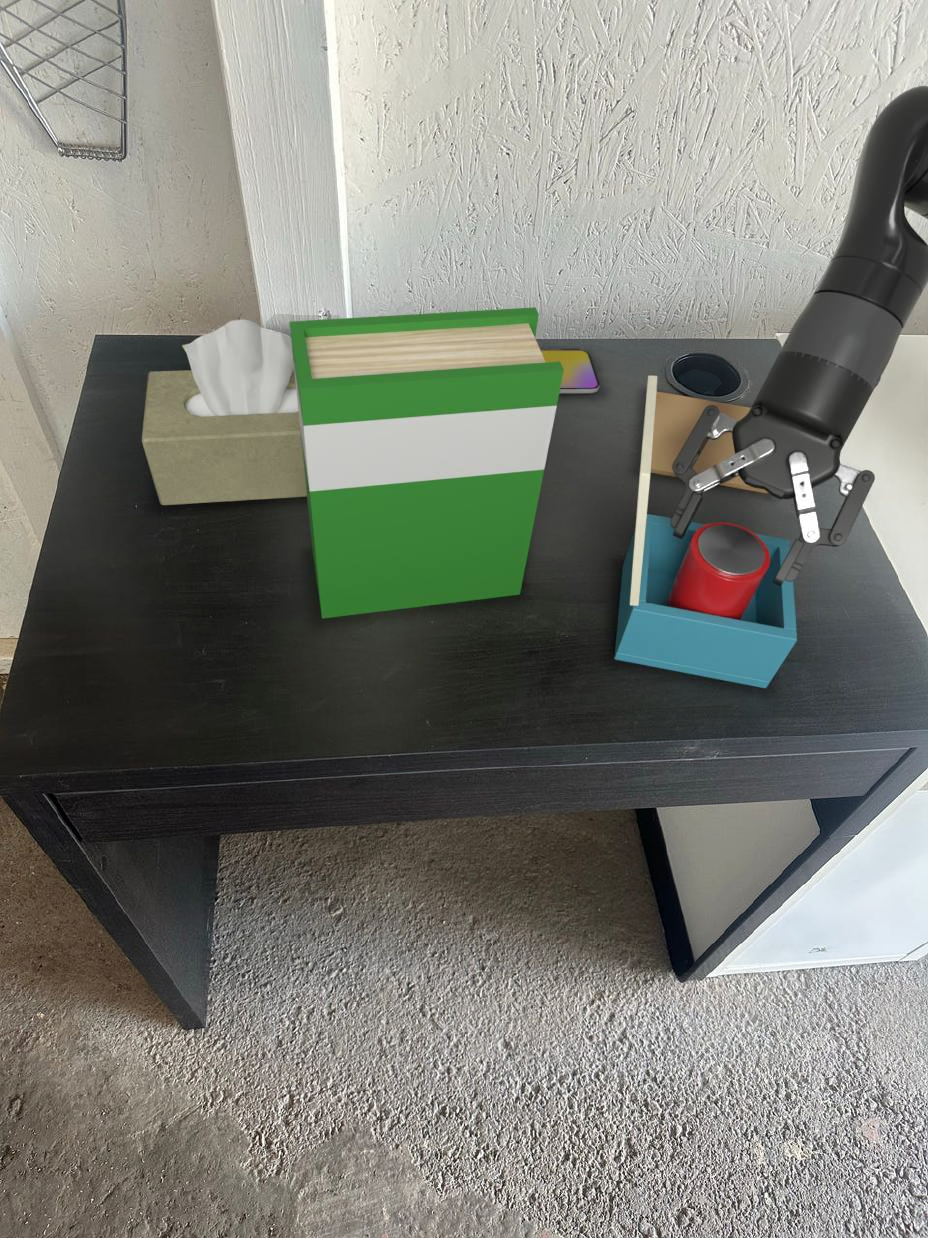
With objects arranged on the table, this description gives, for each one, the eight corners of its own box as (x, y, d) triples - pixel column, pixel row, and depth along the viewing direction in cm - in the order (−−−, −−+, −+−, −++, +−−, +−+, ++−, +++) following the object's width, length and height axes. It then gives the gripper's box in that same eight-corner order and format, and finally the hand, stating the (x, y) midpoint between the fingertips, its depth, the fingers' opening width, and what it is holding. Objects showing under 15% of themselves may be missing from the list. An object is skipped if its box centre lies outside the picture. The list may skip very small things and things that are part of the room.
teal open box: (762, 591, 79) (790, 539, 74) (766, 688, 72) (797, 640, 67) (622, 565, 80) (640, 512, 74) (614, 659, 73) (632, 609, 67)
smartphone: (601, 389, 95) (467, 389, 93) (600, 394, 95) (466, 395, 93) (588, 349, 99) (459, 349, 97) (587, 354, 100) (459, 354, 98)
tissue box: (350, 428, 89) (345, 289, 76) (359, 494, 83) (354, 355, 70) (162, 437, 86) (124, 294, 73) (157, 507, 80) (115, 364, 67)
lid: (657, 375, 63) (648, 374, 64) (650, 474, 57) (639, 473, 57) (645, 509, 74) (637, 508, 74) (638, 606, 67) (629, 605, 67)
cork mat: (763, 414, 95) (765, 409, 95) (767, 493, 87) (769, 489, 87) (647, 393, 96) (649, 389, 95) (641, 471, 88) (642, 466, 87)
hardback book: (500, 534, 81) (535, 307, 62) (519, 594, 77) (563, 369, 58) (312, 554, 78) (289, 321, 59) (322, 618, 73) (299, 388, 54)
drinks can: (729, 607, 76) (769, 527, 68) (729, 663, 72) (773, 585, 64) (660, 594, 77) (692, 513, 68) (657, 649, 73) (691, 570, 65)
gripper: (739, 321, 64) (639, 519, 67) (928, 394, 60) (815, 601, 63) (740, 348, 71) (650, 526, 74) (909, 415, 67) (808, 600, 70)
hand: (726, 560), depth 68 cm, fingers open, 8 cm apart
